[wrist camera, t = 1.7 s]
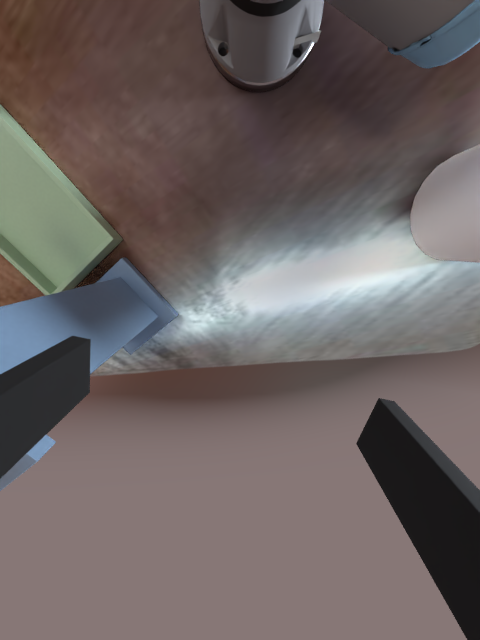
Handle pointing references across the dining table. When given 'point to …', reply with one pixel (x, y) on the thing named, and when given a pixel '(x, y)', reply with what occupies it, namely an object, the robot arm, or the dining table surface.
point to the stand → (82, 328)
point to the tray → (46, 216)
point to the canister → (450, 209)
